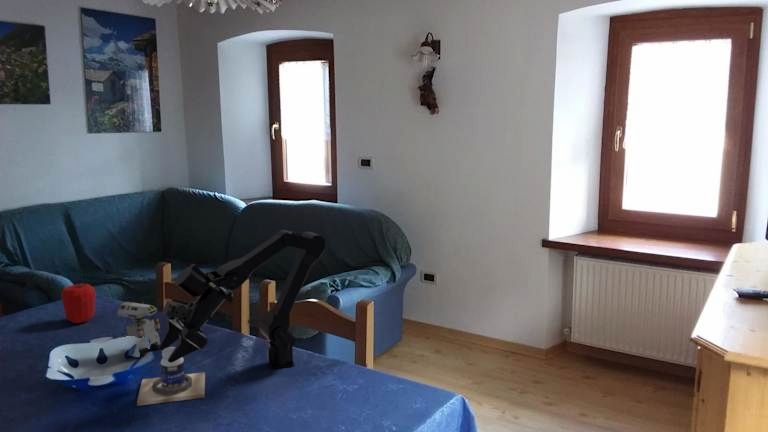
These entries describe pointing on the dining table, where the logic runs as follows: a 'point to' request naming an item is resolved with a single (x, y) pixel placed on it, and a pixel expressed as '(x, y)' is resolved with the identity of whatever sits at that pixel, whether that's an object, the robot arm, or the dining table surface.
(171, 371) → the pill bottle
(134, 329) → the figurine
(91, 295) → the apple
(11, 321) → the dining table surface
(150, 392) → the collar board
